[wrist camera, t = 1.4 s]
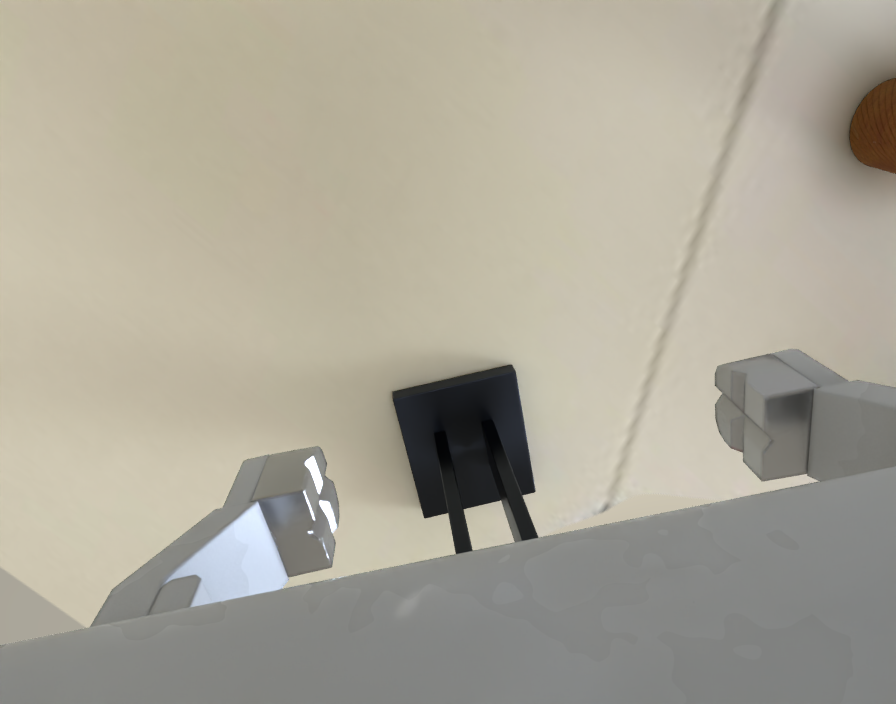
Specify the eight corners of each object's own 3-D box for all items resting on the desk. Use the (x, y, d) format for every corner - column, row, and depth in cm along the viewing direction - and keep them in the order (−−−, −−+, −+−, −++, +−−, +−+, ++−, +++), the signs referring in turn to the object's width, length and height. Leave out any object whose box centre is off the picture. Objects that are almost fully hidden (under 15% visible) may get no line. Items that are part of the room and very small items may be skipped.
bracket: (392, 391, 48) (412, 693, 23) (511, 364, 48) (657, 632, 23) (423, 508, 52) (467, 862, 28) (531, 483, 53) (670, 810, 28)
